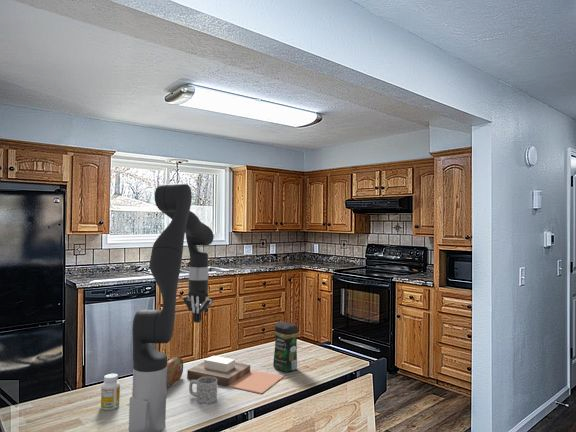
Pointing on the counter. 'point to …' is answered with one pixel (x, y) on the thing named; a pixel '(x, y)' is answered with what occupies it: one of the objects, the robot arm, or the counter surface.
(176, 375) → the tin
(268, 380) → the terracotta mat
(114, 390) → the supplement bottle
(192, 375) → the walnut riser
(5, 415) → the counter surface
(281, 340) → the coffee jar
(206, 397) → the mug
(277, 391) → the counter surface
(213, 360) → the cream block
